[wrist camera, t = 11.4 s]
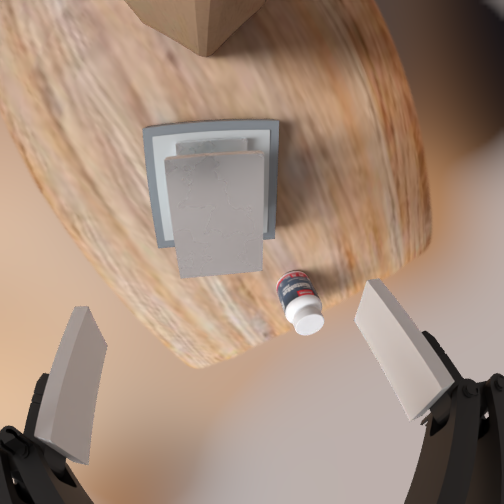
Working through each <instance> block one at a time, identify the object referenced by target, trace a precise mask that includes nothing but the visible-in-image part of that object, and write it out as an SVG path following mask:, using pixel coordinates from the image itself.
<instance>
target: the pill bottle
mask: <svg viewBox="0 0 504 504" xmlns="http://www.w3.org/2000/svg"><path fill="white" fill-rule="evenodd" d="M276 290H277V293H278V296H279V299H280V302H281V304H282V307H283V310H284V313H285V316H286V318H287V320H288V321H289V322H290V323H292V324H293V325H294V327H295V330H296V331H297V333H298V334H300V335H311V334H313V333H315V332H317V331H318V330H320V329H321V327H322V326H323V324H324V317H323V315H322V313H321V310H322V303H321V301H320V299H319V297H318V295H317V293H316V291H315V289H314V287H313V285H312V283H311V281H310V279H309V278H308V276H307V275H306V274H305V273H303V272H301V271H291V272H288V273H286V274H284V275H283V276H282V277H281V278H280V279H279V280H278V282H277V285H276Z"/></svg>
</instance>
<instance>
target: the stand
mask: <svg viewBox="0 0 504 504" xmlns="http://www.w3.org/2000/svg"><path fill="white" fill-rule="evenodd" d="M241 137H246V138H247V151H258V150H261V151H262V152H263V153H264V211H263V240H266V239H275V223H276V201H277V176H278V146H279V121H278V120H274V119H222V120H204V121H190V122H179V123H170V124H161V125H154V126H148V127H145V128H143V141H144V152H145V162H146V171H147V179H148V187H149V194H150V201H151V208H152V215H153V221H154V227H155V233H156V238H157V244H158V248H167V247H175V242H174V236H173V229H172V223H171V215H170V208H169V200H168V192H167V184H166V175H165V165H164V160H165V158H166V157H170V156H176V145H175V144H176V142H182V141H192V140H204V139H219V138H241Z"/></svg>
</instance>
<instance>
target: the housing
mask: <svg viewBox="0 0 504 504" xmlns="http://www.w3.org/2000/svg"><path fill="white" fill-rule="evenodd" d="M175 145H176V156H170V157H166V158H165V160H164V165H165V175H166V184H167V192H168V200H169V208H170V215H171V223H172V229H173V236H174V242H175V249H176V255H177V260H178V266H179V272H180V277H181V278H191V277H203V276H214V275H225V274H235V273H245V272H256V271H262V262H263V211H264V153H263V152H262V151H261V150H258V151H247V138H246V137H241V138H219V139H204V140H192V141H182V142H176V144H175Z"/></svg>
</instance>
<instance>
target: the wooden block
mask: <svg viewBox="0 0 504 504" xmlns="http://www.w3.org/2000/svg"><path fill="white" fill-rule="evenodd" d="M265 1H266V0H125V2H126V3H127V4H128V5H129V6H130V8H131V9H132V10H133V11H134V13H135V14H136V15H137V16H138V17H139V19H140V20H141V21H142V22H143V23H144V24H146V25H148V26H150V27H152V28H154V29H155V30H157V31H159V32H161V33H163V34H164V35H166V36H168V37H170V38H171V39H173V40H175V41H176V42H178V43H180V44H181V45H183V46H185V47H186V48H188V49H190V50H191V51H193V52H194V53H196V54H197V55H199V56H203V57H208V56H210V55H212V54H213V53H214V52H215V51H216V50H217V49H218V48H219V47H220V46H221V45H222V44H223V43H224V42H225V41H226V40H227V39H228V38H229V37H230V36H231V35H232V34H233V33H234V32H235V31H236V30H237V29H238V28H239V27H240V26H241V25H242V24H243V23H244V22H245V21H247V20H248V19H249V18H250V17H251V16H252V15H253V14H254V13H255V12H257V11H258V10H259V9H260V8H261V7H262V6H263V4H264V3H265Z"/></svg>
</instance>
